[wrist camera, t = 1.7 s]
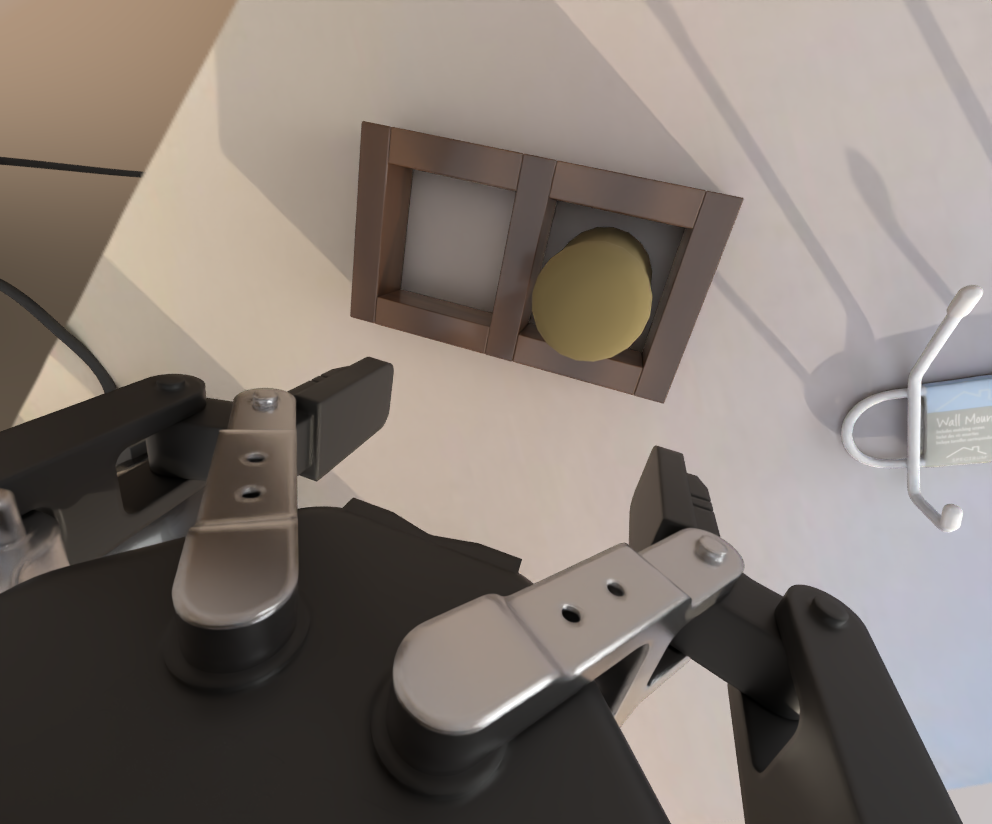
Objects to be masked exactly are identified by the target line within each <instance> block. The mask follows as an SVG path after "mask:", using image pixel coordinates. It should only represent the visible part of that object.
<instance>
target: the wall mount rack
mask: <svg viewBox="0 0 992 824" xmlns="http://www.w3.org/2000/svg"><path fill="white" fill-rule="evenodd" d="M982 295H983V289H982V288H981V287H979V286H976V285H970V286H966V287H964V288H962V289H960V290H959V291H958V293H957V294H956V296H955V297H954V299H953V300H952V302H951V303H950V305H949V307H948V308H947V315H946V317H945V318H944V320H943V321H942V323H941V325H940V326H939V328H938V329H937V331H936V332H935V334H934V335H933V337H932V339H931V340H930V342H929V343H928V345H927V347H926V348H925V350H924V351H923V353H922V355H921V356H920V358H919V359H918V361H917V363H916V364H915V366H914V367H913V369H912V370H911V372H910V374H909V378H908V388H904V389H897V390H890V391H884V392H880V393H877V394H874V395H872V396H869V397H867V398H865V399H864V400H862V401H860V402H859V403H858V404H856V405H855V406H854V407H853V408H852V409H851V410H850V411H849V413H848V414H847V416H846V417H845V419H844V421H843V424H842V429H841V439H842V443H843V445H844V447H845V449H846V451H847V452H848V453H849V454H850V455H851V456H852V457H853V458H854V459H856V460H857V461H859V462H861V463H863V464H866V465H869V466H872V467H878V468H907V488H908V494H909V497H910V499H911V500H912V502H913V503H914V504H915V505H916V506H917V507H918V508H919V509H920V510H921V511H922V512H923V513H924V514H925V515H926V517H927V518H928V519H929V520H930V521H931V522H932V523H933V524H934V525H935V526H936V527H937V528H938V529H940V530H941V531H943V532H952V531H954V530H956V529H958V528H959V527H960V524H961V520H962V516H963V511H962V509H961V508H960V507H959V506H957V505H954V504H947V505H945V506H944V508H943V510H942V515H940V514H939V513H938V512H937V511H936V510H935V509H934V508H933V507H932V506H931V505H930V504H929V503H928V502H927V501H926V500H925V499H924V498H923V496H922V494H921V492H920V466H922V467H926V468H929V467H941V466H952V465H964V464H976V463H988V462H992V375H984V376H977V377H970V378H963V379H956V380H949V381H942V382H934V383H926V384H921V380H922V377H923V375H924V373H925V372H926V370H927V369H928V367H929V366H930V364H931V363H932V361H933V360H934V358H935V357H936V355H937V354H938V352H939V351H940V349H941V348H942V346H943V345H944V343H945V342H946V340H947V339H948V338H949V336H950V335H951V333H952V332H953V330H954V329H955V327H956V326H957V324H958V323H959V322H960V320H961V319H962V317H964V316H966V315H967V314H969V313H970V312H971V310H972V309H973V308H974V306H975V305H976V304H977V302H978V301H979V299H980V298H981V297H982ZM899 398H907V399H908V415H907V449H908V452H907V458H905V459H877V458H873V457H870V456H868V455H865V454H864V453H862V452H861V451H860V450H859V449H858V448H857V447H856V445H855V443H854V441H853V436H852V431H853V427H854V424H855V422H856V420H857V419H858V417H859V416H860V415H861V414H862V413H863V412H864V411H865V410H866V409H868V408H869V407H871V406H873V405H875V404H877V403H880V402H882V401H886V400H892V399H899Z"/></svg>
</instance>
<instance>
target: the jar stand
mask: <svg viewBox="0 0 992 824" xmlns="http://www.w3.org/2000/svg"><path fill="white" fill-rule="evenodd" d="M413 169H415V170H420V171H424V172H429V173H434V174H438V175H443V176H447V177H452V178H457V179H461V180H466V181H471V182H475V183H480V184H484V185H489V186H494V187H498V188H503V189H507V190H512V191H516V196H515V201H514V206H513V211H512V216H511V221H510V227H509V232H508V237H507V242H506V247H505V252H504V257H503V263H502V268H501V273H500V278H499V283H498V288H497V293H496V299H495V304H494V309H493V313H490V312H486V311H482V310H478V309H474V308H470V307H467V306H463V305H459V304H455V303H451V302H447V301H444V300H440V299H436V298H432V297H428V296H425V295H421V294H417V293H413V292H409V291H405V290H402V289H401V279H402V269H403V260H404V250H405V241H406V231H407V221H408V212H409V202H410V193H411V183H412V173H413ZM557 200H558V201H563V202H568V203H572V204H577V205H581V206H586V207H591V208H595V209H600V210H604V211H609V212H614V213H618V214H623V215H628V216H632V217H637V218H641V219H646V220H651V221H655V222H660V223H665V224H669V225H674V226H678V227H683V228H685V230H684V233H683V236H682V239H681V242H680V245H679V247H678V250H677V253H676V256H675V259H674V262H673V265H672V267H671V270H670V273H669V276H668V279H667V282H666V285H665V288H664V290H663V293H662V296H661V299H660V302H659V305H658V308H657V310H656V313H655V316H654V319H653V322H652V325H651V328H650V330H649V333H648V336H647V339H646V342H645V345H644V348H643V351H642V353H641V352H638V351H635V350H631V349H625V350H624V351H622V352H620V353H618V354H617V355H615V356H613V357H611V358H607V359H603V360H598V361H594V362H592V361H577V360H574V359H571V358H569V357H566V356H563V355H561V354H559V353H558V352H557V351H555V350H554V349H553V348H552V347H550V346H549V345H548V344H547V343H546V342H545V340H544V339H543V337H542V336H541V334H540V333H539V331H538V330H537V327H536V325H535V324H531V323H529V320H530V316H531V312H532V292H533V289H534V286H535V283H536V280H537V277H538V275H539V273H540V272H541V268H542V264H543V260H544V255H545V251H546V247H547V242H548V238H549V234H550V229H551V225H552V221H553V216H554V212H555V208H556V203H557ZM743 200H744V198H741V197H736V196H731V195H726V194H721V193H716V192H711V191H705V190H701V189H696V188H691V187H686V186H681V185H676V184H672V183H667V182H662V181H657V180H652V179H647V178H642V177H637V176H632V175H627V174H622V173H617V172H612V171H607V170H602V169H598V168H593V167H588V166H583V165H578V164H573V163H568V162H563V161H556V160H553V159H548V158H543V157H538V156H533V155H528V154H523V153H519V152H514V151H509V150H504V149H499V148H494V147H489V146H484V145H479V144H474V143H469V142H464V141H459V140H454V139H449V138H445V137H440V136H435V135H430V134H425V133H420V132H415V131H410V130H405V129H400V128H395V127H390V126H385V125H380V124H375V123H370V122H365V121H363V122H362V128H361V145H360V162H359V179H358V196H357V212H356V229H355V246H354V263H353V280H352V297H351V314H350V316H351V317H353V318H357V319H361V320H364V321H368V322H371V323H375V324H378V325H382V326H386V327H389V328H393V329H396V330H400V331H404V332H407V333H411V334H414V335H418V336H422V337H425V338H429V339H432V340H436V341H440V342H443V343H447V344H451V345H454V346H458V347H461V348H465V349H469V350H472V351H476V352H479V353H483V354H486V355H490V356H494V357H497V358H501V359H504V360H508V361H512V360H513V362H516V363H519V364H523V365H527V366H530V367H534V368H538V369H541V370H545V371H548V372H552V373H556V374H559V375H563V376H566V377H570V378H574V379H577V380H581V381H585V382H588V383H592V384H595V385H599V386H603V387H606V388H610V389H613V390H617V391H621V392H624V393H628V394H631V395H633V394H634V396H638V397H642V398H645V399H649V400H652V401H656V402H660V403H664V402H665V400H666V397H667V394H668V392H669V389H670V387H671V384H672V382H673V379H674V376H675V374H676V371H677V369H678V366H679V364H680V361H681V359H682V356H683V353H684V351H685V348H686V346H687V343H688V341H689V338H690V335H691V333H692V330H693V328H694V325H695V323H696V320H697V318H698V315H699V312H700V310H701V307H702V305H703V302H704V300H705V297H706V294H707V292H708V289H709V287H710V284H711V282H712V279H713V277H714V274H715V271H716V269H717V266H718V264H719V261H720V259H721V256H722V253H723V251H724V248H725V246H726V243H727V241H728V238H729V236H730V233H731V230H732V228H733V225H734V223H735V220H736V218H737V215H738V213H739V210H740V207H741V205H742V202H743ZM400 289H401V290H400Z"/></svg>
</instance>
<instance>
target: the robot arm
mask: <svg viewBox="0 0 992 824" xmlns="http://www.w3.org/2000/svg"><path fill="white" fill-rule="evenodd" d="M0 165H9V166H20V167H31V168H42V169H52V170H63V171H73V172H82V173H93V174H103V175H114V176H126V177H139V178H142V177H143V175H144V173H145V172H141V171H130V170H120V169H110V168H100V167H90V166H82V165H73V164H64V163H55V162H46V161H37V160H28V159H18V158H8V157H0ZM0 291H2V292H3V293H5V294H6V295H8V296H9V297H11V298H12V299H14V300H15V301H16V302H18V303H19V304H20V305H21V306H23V307H24V308H25V309H26V310H28V311H29V312H30V313H31V314H32V315H33V316H34V317H36V318H37V319H38V320H39V321H40V322H41V323H42V324H43V325H44V326H46V327H47V328H48V329H49V330H50V331H51V332H52V333H53V334H55V336H57V337H58V338H59V339H60V340H61V341H62V342H63V343H65V344H66V345H67V346H68V347H69V348H70V349H71V350H73V351H74V352H75V353H76V354H77V355H78V356H79V357H80V358H81V359H82V360H83V361H84V362H85V363H86V364H87V365H88V366H89V367H90V369H91V370H92V371H93V372H94V374H95V375H96V376H97V378H98V380H99V381H100V383H101V385H102V387H103V390H104V393H105V394H102V395H100V396H97V397H94V398H91V399H89V400H86V401H83V402H80V403H78V404H75V405H72V406H69V407H67V408H64V409H61V410H59V411H56V412H53V413H50V414H48V415H45V416H42V417H39V418H37V419H34V420H31V421H28V422H26V423H23V424H20V425H17V426H15V427H12V428H9V429H7V430H4V431H1V432H0V824H671V823H670V821H669V819H668V817H667V816H666V814H665V812H664V810H663V808H662V806H661V804H660V802H659V801H658V799H657V797H656V795H655V793H654V791H653V789H652V787H651V786H650V784H649V782H648V780H647V778H646V776H645V774H644V772H643V771H642V769H641V767H640V765H639V763H638V761H637V759H636V757H635V756H634V754H633V752H632V750H631V748H630V746H629V744H628V742H627V740H626V739H625V737H624V735H623V733H622V731H621V729H620V727H621V726H622V725H623V723H624V722H625V721H626V720H627V718H628V717H629V716H630V714H631V713H632V712H633V711H634V709H635V708H636V707H637V706H638V705H639V704H640V703H641V702H642V701H643V700H644V699H645V698H646V697H648V696H649V695H650V694H651V693H652V692H654V691H655V690H656V689H657V688H658V687H659V686H661V685H662V684H663V683H664V682H665V681H666V680H668V679H669V678H670V677H671V676H672V675H674V674H675V673H676V672H677V671H678V670H679V669H681V668H682V667H683V666H684V665H685V664H687V663H688V662H689V661H690V659H692V660H694V661H695V662H697V663H698V664H700V665H701V666H703V667H704V668H706V669H707V670H709V671H710V672H712V673H713V674H715V675H716V676H718V677H720V678H721V679H723V680H724V681H726V682H727V683H728V694H729V702H730V710H731V717H732V725H733V733H734V740H735V748H736V756H737V764H738V771H739V779H740V787H741V795H742V802H743V810H744V818H745V824H963V823H962V821H961V819H960V817H959V815H958V813H957V811H956V809H955V807H954V805H953V803H952V801H951V799H950V797H949V795H948V793H947V791H946V788H945V786H944V784H943V782H942V780H941V778H940V776H939V774H938V772H937V770H936V768H935V766H934V764H933V762H932V760H931V758H930V756H929V754H928V752H927V750H926V748H925V746H924V744H923V742H922V740H921V738H920V736H919V734H918V732H917V730H916V728H915V726H914V724H913V721H912V719H911V717H910V715H909V713H908V711H907V709H906V707H905V705H904V703H903V701H902V699H901V697H900V695H899V693H898V691H897V689H896V687H895V685H894V683H893V681H892V679H891V677H890V675H889V673H888V671H887V669H886V667H885V665H884V663H883V661H882V659H881V657H880V654H879V652H878V650H877V648H876V646H875V644H874V642H873V640H872V638H871V636H870V634H869V632H868V630H867V628H866V627H865V625H864V623H863V622H862V621H861V619H860V618H859V617H858V616H857V615H856V614H855V613H854V612H853V611H852V610H851V609H850V608H849V607H847V606H846V605H845V604H844V603H842V602H841V601H839V600H838V599H836V598H835V597H833V596H831V595H830V594H828V593H826V592H824V591H822V590H819V589H817V588H814V587H811V586H807V585H794V586H791V587H790V588H789V589H788V590H787V592H786V593H785V595H784V596H781V595H779V594H777V593H776V592H774V591H772V590H770V589H768V588H766V587H765V586H763V585H761V584H759V583H757V582H756V581H754V580H752V579H751V578H749V577H748V576H746V575H745V574H744V573H743V570H744V561H743V559H742V557H741V555H740V554H739V553H738V551H737V550H736V549H735V548H734V547H733V546H732V545H730V544H729V543H728V542H727V541H725V540H724V539H722V538H720V534H719V530H718V526H717V522H716V519H715V515H714V512H713V507H712V503H711V502H710V501H711V500H710V496H709V492H708V489H707V487H706V486H705V485H704V484H703V483H702V481H701V480H700V479H699V478H698V477H697V476H695V475H692V474H688V473H687V472H686V467H685V462H684V457H683V454H682V453H679V452H676V451H672V450H669V449H666V448H663V447H659V446H654V448H653V449H652V451H651V453H650V456H649V458H648V461H647V463H646V466H645V468H644V470H643V473H642V475H641V478H640V480H639V482H638V485H637V487H636V490H635V492H634V495H633V498H632V502H631V506H630V518H629V545H628V544H626V543H620V544H618V545H615V546H613V547H611V548H609V549H607V550H605V551H603V552H601V553H598V554H596V555H594V556H592V557H590V558H588V559H586V560H584V561H582V562H579V563H577V564H575V565H573V566H571V567H569V568H567V569H565V570H562V571H560V572H558V573H556V574H554V575H552V576H550V577H548V578H546V579H543V580H541V581H539V582H537V583H535V584H533V583H532V582H531V581H529V580H528V579H527V578H526V577H524V576H523V575H521V574H519V573H518V571H519V568H520V564H521V561H522V559H520V558H517V557H515V556H512V555H509V554H506V553H504V552H501V551H498V550H495V549H493V548H490V547H487V546H484V545H482V544H479V543H474V542H468V541H462V540H456V539H450V538H444V537H438V536H433V535H430V534H428V533H426V532H424V531H423V530H421V529H419V528H418V527H416V526H414V525H413V524H411V523H410V522H408V521H406V520H405V519H403V518H402V517H400V516H398V515H397V514H395V513H393V512H391V511H389V510H386V509H383V508H380V507H378V506H375V505H372V504H369V503H367V502H364V501H361V500H358V499H356V498H352V499H351V500H350V501H349V502H348V503H347V504H346V505H345V506H344V507H343V508H338V507H306V508H300V509H297V476H298V475H300V476H303V477H306V478H309V479H311V480H314V481H318V480H319V479H320V478H322V477H323V476H324V475H325V474H326V473H328V472H329V471H330V470H331V469H333V468H334V467H335V466H336V465H337V464H339V463H340V462H341V461H342V460H343V459H345V458H346V457H347V456H348V455H350V454H351V453H352V452H353V451H354V450H356V449H357V448H358V447H359V446H360V445H362V444H363V443H364V442H365V441H366V440H368V439H369V438H370V437H371V436H373V435H374V434H375V433H376V432H377V431H379V430H380V429H381V428H382V427H383V425H384V424H385V422H386V420H387V417H388V414H389V409H390V400H391V391H392V382H393V373H394V369H393V365H392V364H391V363H388V362H385V361H381V360H378V359H375V358H372V357H366V358H364V359H362V360H360V361H358V362H356V363H354V364H352V365H350V366H346V367H341V368H336V369H332V370H330V371H328V372H326V373H324V374H322V375H321V376H318V377H316V378H314V379H312V381H308V382H306V383H304V384H302V385H300V386H298V387H296V388H294V389H292V390H290V391H288V392H286V391H283V390H279V389H273V388H257V389H251V390H247V391H244V392H241V393H239V394H238V395H237V396H236V397H235V398H234V401H233V402H232V401H225V400H218V399H211V398H206V389H205V383H204V381H202V380H201V379H199V378H197V377H194V376H190V375H183V374H165V375H157V376H153V377H149V378H146V379H143V380H141V381H138V382H135V383H132V384H130V385H127V386H124V387H121V388H119V389H116V386H115V384H114V382H113V381H112V379H111V377H110V376H109V374H108V373H107V372H106V370H105V369H104V368H103V366H102V365H101V364H100V363H99V361H98V360H97V359H96V358H95V357H94V356H93V354H92V353H91V352H90V351H89V350H88V349H87V348H86V347H85V346H84V345H83V344H82V343H81V342H79V341H78V340H77V339H76V338H75V337H74V336H73V335H71V334H70V333H69V332H68V331H67V330H66V329H65V328H64V327H62V326H61V325H60V324H59V323H58V322H57V321H56V320H55V319H54V318H52V317H51V316H50V315H49V314H48V313H47V312H46V311H45V310H44V309H43V308H41V307H40V306H39V305H38V304H37V303H36V302H34V301H33V300H32V299H31V298H29V297H28V296H27V295H25V294H24V293H23V292H21V291H19V290H18V289H17V288H15V287H14V286H12V285H11V284H9V283H7V282H5V281H4V280H2V279H0Z"/></svg>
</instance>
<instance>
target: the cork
mask: <svg viewBox="0 0 992 824" xmlns="http://www.w3.org/2000/svg"><path fill="white" fill-rule="evenodd" d="M651 278H652V268H651V264H650V259H649V255H648V254H647V252H646V250H645V249H644V247H643V245H642V244H641V242H639V241H638V240H637V239H636V238H635V237H633V236H632V235H631V234H630V233H628V232H625V231H623V230H620V229H617V228H614V227H597V228H594V229H591V230H588V231H585V232H582V233H580V234H579V235H578V236H576V237H575V238H574V239H572V240H571V241H570V242H568V244H567V245H566V246H565V248H564V249H563V250H562V251H560V252H559V253H558V254H556V255H555V256H554V257H552V258H551V259H550V260H549V261H548V262H547V264H546V265H545V266H544V268H543V269H542V271H541V272H540V273H539V275H538V277H537V280H536V283H535V286H534V289H533V292H532V313H533V316H534V320H535V323H536V327H537V330H538V331H539V333H540V334H541V336H542V337H543V339H544V340H545V342H546V343H547V344H548V345H549V346H550V347H552V348H553V349H554V350H555V351H557V352H558V353H559V354H561V355H563V356H566V357H569V358H571V359H574V360H577V361H592V362H594V361H598V360H603V359H607V358H611V357H613V356H615V355H617V354H618V353H620V352H622V351H624V350H625V349H627V348H629V347H630V346H631V344H632V343H633V342H634V341H635V340H636V339H637V338H638V337H639V336H640V335H641V334H642V332H643V330H644V327H645V325H646V323H647V321H648V319H649V317H650V312H651V303H652V292H651Z"/></svg>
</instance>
